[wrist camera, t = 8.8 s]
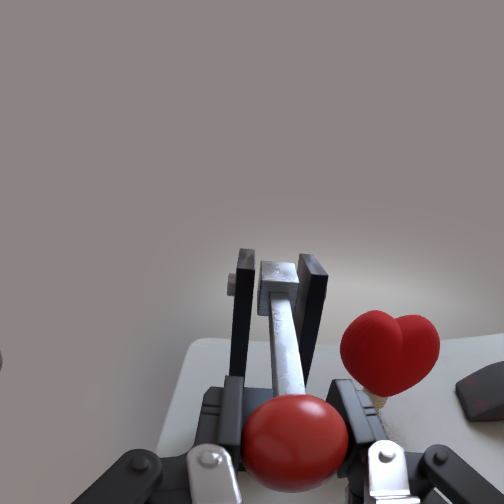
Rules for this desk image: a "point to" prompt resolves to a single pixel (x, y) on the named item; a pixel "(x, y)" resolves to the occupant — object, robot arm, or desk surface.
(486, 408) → the computer mouse
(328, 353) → the desk surface
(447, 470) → the robot arm
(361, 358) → the light bulb
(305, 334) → the bracket
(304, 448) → the lever
